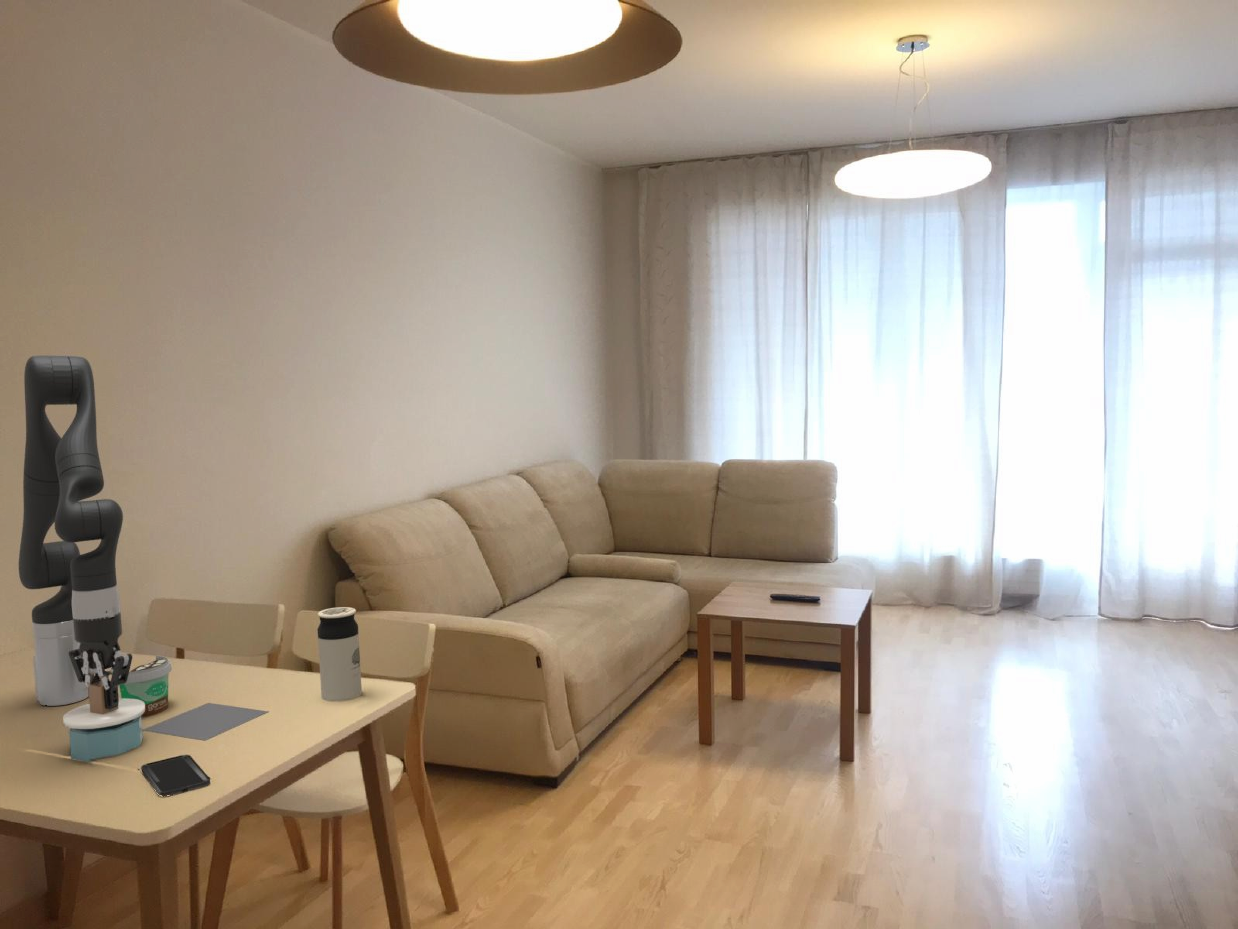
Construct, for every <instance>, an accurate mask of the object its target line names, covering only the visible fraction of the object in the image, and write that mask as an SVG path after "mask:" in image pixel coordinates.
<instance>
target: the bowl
mask: <svg viewBox="0 0 1238 929" xmlns="http://www.w3.org/2000/svg"><path fill="white" fill-rule="evenodd" d="M142 730H143V722H142V717H141V715H140V716H139V717H137V718H135V719H133V720H130V721H127V722H124V723H121V724H117V725H113V726H108V727H102V728H95V729H73V728H69V730H68V736H69V738H68V739H69V746H70V759H71V760H74V759H75V760H76V761H79V760H80V761H81V762H85V763H95V762H96V760H95V759H100V758H101V759H102V758H108V757H114V756H119V755H121V754H125V753H126V752H129V751H132V750H133V749H136V748H138V747H141V745H142V742H143V737H144V736H143V734H144V733H143V732H144V731H142ZM75 760H74V761H75Z"/></svg>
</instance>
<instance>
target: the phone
mask: <svg viewBox="0 0 1238 929" xmlns="http://www.w3.org/2000/svg"><path fill="white" fill-rule="evenodd" d="M140 768H141V773H142V774H143V776H144V777H145V779H146V778H147V779H146V780H147V782H148V783H149V782H150V783H149V785H152V786H153V787H152V786H151V787H152V789H153V788H154V789H155V790H156V792H157V793H158V794H159V795H162V796H167V795H172V794H176V795H179V794H182V793H186V792H191V791H195V790H198V789H202V788H206V787H208V786H210V785H211V778H210V777H209V776H208V774H207V773H206V772H205V771H204V770H203V768H201V766H200V765H199V764H198V763H197V762H196V761H195V759H194V758H193V757H192V756H191V754H181V755H177V756H174V757H169V758H165V759H160V760H156V761H151V762H148V763H144V764H143V765H141V767H140ZM154 789H153V790H154ZM155 790H154V791H155ZM156 792H155V793H156ZM157 793H156V794H157ZM158 794H157V795H158ZM172 796H173V795H172Z"/></svg>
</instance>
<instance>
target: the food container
mask: <svg viewBox="0 0 1238 929" xmlns="http://www.w3.org/2000/svg"><path fill="white" fill-rule="evenodd" d="M172 670H173V667H172V665H171V661H170V660H169V659H168V657H167V656H163V655H155V660H154V661H151V662H149V663H145V664H141V665H139V666H136V667H134V668H133V669H132V670H129V674H128V679H127V682H126V683H124V684H121V685H119V686H118V688H119V692H120V699H123V698H129V699H138V700H141V701H143V702H144V703H145V712H144V713H143V714H142V715H141V718H145V717H149V716H154V715H157V714H159V713H162V712H163V711H166V710H167V709H168V707H169V675H170V673H171V672H172ZM120 677H121V675H120V676H119V678H120Z"/></svg>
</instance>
